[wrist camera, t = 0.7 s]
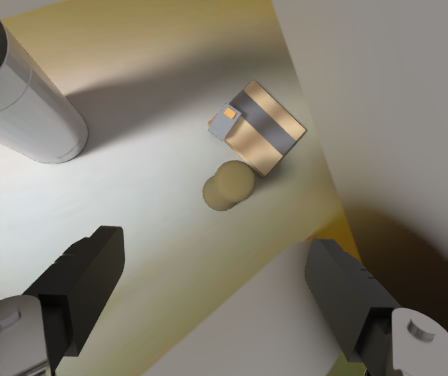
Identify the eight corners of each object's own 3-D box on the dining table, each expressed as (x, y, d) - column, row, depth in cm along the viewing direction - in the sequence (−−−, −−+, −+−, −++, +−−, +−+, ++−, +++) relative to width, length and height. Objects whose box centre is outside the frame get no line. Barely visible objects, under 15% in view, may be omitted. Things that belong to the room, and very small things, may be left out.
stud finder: (207, 130, 38) (209, 124, 35) (223, 108, 39) (226, 101, 37) (222, 141, 38) (225, 135, 36) (238, 118, 39) (241, 112, 37)
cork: (204, 172, 38) (215, 150, 27) (239, 176, 39) (263, 156, 28) (201, 209, 36) (211, 201, 26) (237, 212, 38) (262, 206, 27)
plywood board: (207, 125, 39) (208, 122, 38) (251, 84, 42) (253, 80, 41) (262, 177, 39) (265, 176, 38) (302, 132, 43) (305, 130, 42)
